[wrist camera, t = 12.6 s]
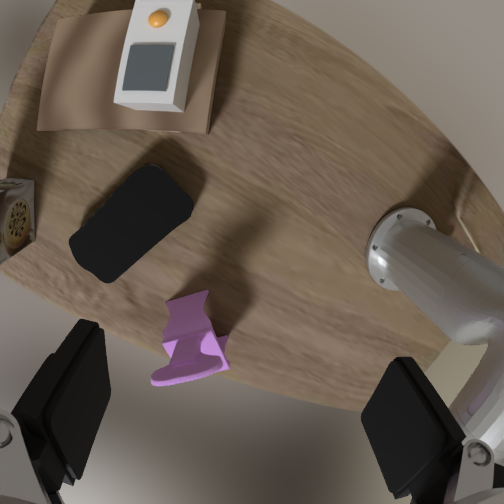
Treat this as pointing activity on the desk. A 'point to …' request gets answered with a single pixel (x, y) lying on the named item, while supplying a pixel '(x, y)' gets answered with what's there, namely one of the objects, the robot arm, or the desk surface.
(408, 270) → the robot arm
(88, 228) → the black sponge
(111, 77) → the light wooden platform
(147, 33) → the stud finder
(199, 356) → the toy chair
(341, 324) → the desk surface
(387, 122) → the desk surface
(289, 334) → the desk surface
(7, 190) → the coffee box
